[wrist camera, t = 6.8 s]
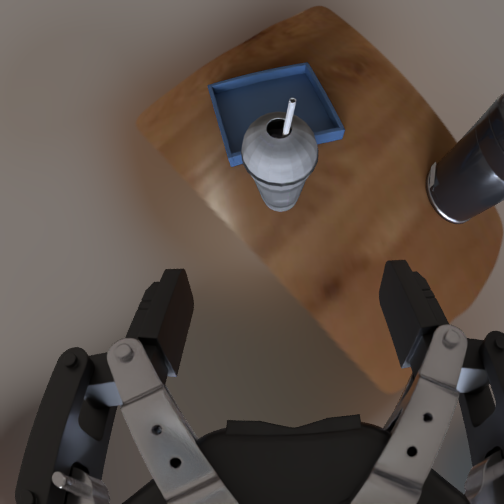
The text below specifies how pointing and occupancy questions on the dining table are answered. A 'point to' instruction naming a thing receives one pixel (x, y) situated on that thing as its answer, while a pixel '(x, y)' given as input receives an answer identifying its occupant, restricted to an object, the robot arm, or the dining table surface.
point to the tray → (272, 104)
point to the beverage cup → (279, 156)
